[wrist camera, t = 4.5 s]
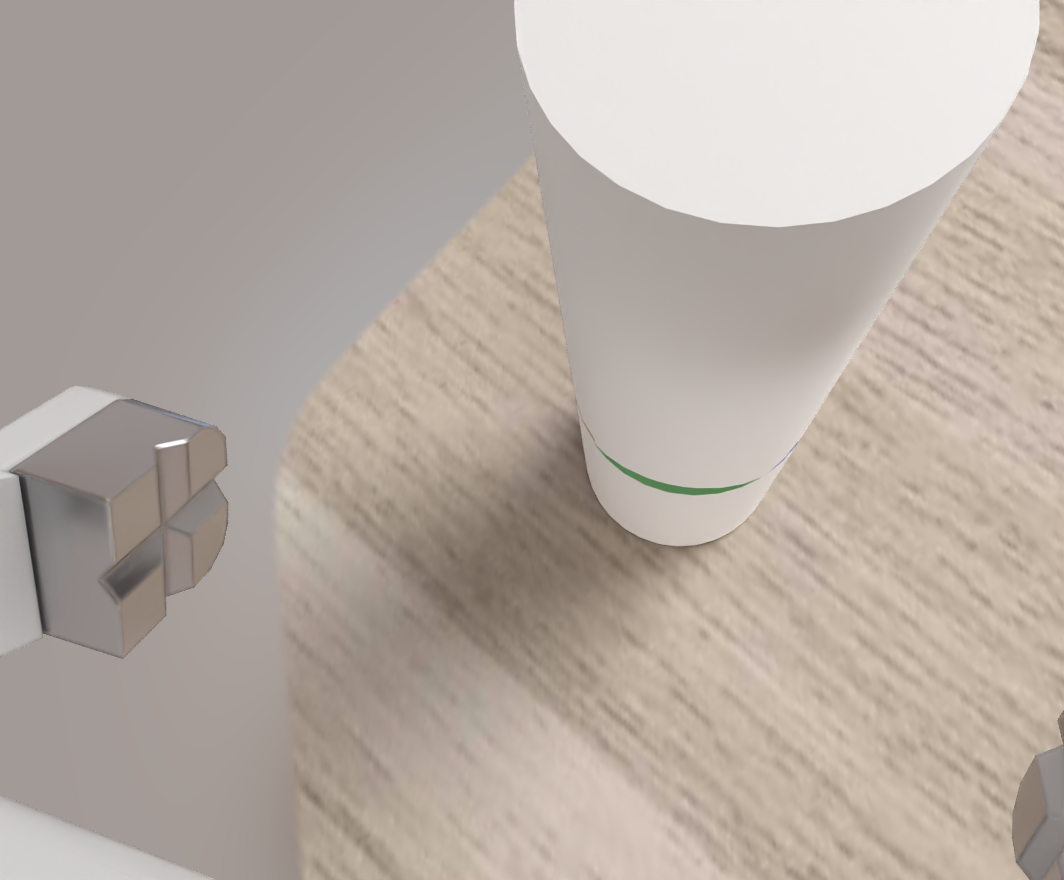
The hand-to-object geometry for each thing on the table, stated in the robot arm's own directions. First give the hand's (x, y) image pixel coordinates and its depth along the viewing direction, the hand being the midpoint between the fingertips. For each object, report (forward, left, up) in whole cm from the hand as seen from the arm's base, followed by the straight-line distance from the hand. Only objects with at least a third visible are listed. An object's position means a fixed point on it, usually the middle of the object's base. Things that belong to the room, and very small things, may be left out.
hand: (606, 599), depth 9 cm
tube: (+3, +4, -13) cm, 14 cm away
